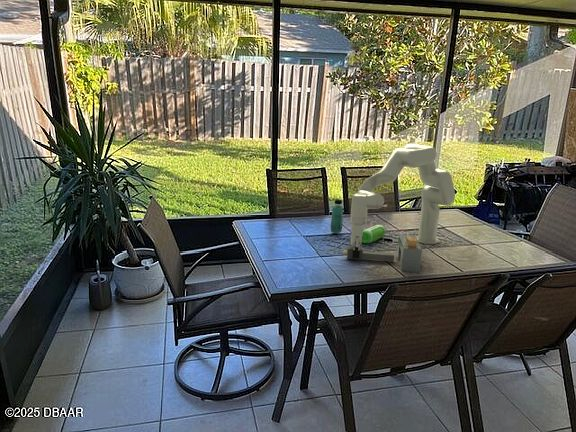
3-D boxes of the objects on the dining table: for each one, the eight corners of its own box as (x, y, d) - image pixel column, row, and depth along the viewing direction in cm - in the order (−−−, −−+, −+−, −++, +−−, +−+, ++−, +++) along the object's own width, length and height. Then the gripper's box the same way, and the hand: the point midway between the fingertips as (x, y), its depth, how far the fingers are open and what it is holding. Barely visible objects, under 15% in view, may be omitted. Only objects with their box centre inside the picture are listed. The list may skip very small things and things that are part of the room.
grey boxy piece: (396, 255, 211) (399, 228, 207) (412, 256, 210) (416, 229, 206) (401, 270, 191) (404, 241, 188) (419, 272, 190) (422, 243, 187)
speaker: (369, 245, 223) (371, 232, 221) (358, 242, 228) (359, 229, 226) (386, 238, 236) (387, 225, 234) (374, 235, 241) (375, 222, 239)
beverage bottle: (328, 232, 242) (330, 198, 236) (338, 231, 244) (340, 198, 239) (333, 236, 236) (335, 201, 231) (343, 235, 238) (346, 200, 233)
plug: (343, 254, 207) (343, 244, 205) (393, 258, 204) (394, 248, 202) (342, 258, 202) (343, 248, 200) (394, 262, 199) (395, 252, 197)
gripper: (350, 214, 207) (347, 249, 212) (350, 224, 191) (347, 261, 196) (365, 215, 206) (362, 250, 211) (367, 225, 190) (364, 263, 195)
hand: (355, 255), depth 203 cm, fingers closed on plug, 5 cm apart
